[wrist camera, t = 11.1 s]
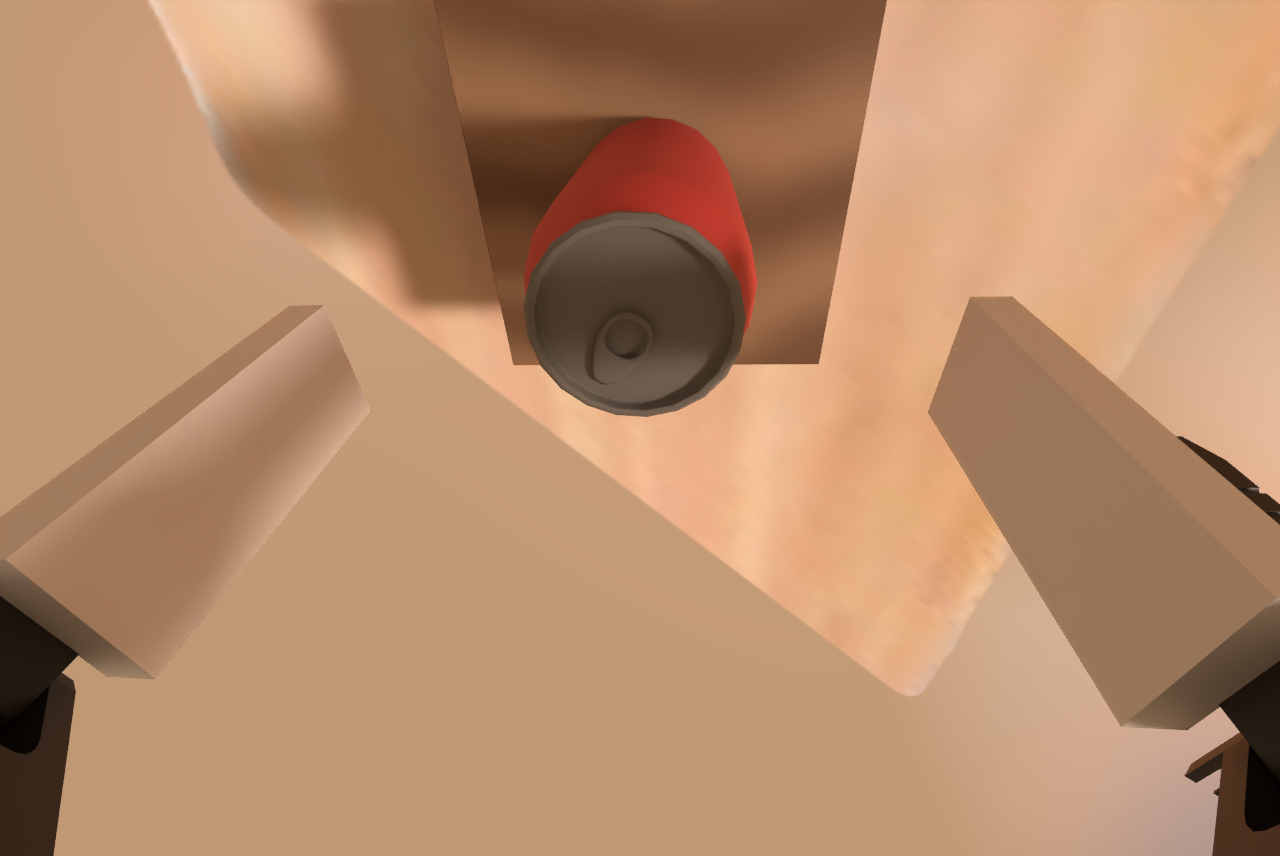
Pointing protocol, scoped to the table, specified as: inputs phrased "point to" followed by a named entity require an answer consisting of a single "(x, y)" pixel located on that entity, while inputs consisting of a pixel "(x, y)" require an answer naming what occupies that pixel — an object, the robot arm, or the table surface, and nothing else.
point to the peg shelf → (688, 93)
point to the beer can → (641, 273)
